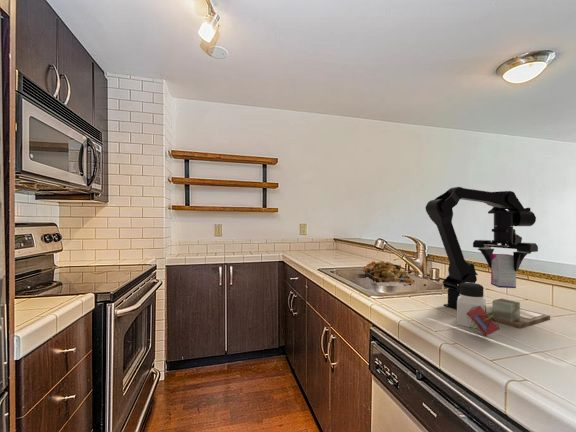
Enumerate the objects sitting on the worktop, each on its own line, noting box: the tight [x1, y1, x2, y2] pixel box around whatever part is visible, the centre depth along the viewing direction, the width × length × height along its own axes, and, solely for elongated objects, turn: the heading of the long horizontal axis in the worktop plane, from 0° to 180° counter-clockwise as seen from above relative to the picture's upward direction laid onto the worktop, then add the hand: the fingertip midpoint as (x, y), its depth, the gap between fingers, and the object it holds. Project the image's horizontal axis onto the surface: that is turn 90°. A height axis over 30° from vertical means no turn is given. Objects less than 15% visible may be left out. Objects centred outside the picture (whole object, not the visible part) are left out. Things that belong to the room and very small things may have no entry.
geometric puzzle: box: [466, 306, 501, 337], centre depth 80 cm, size 7×7×8 cm
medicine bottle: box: [456, 282, 487, 330], centre depth 89 cm, size 7×7×12 cm
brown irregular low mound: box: [362, 260, 427, 287], centre depth 154 cm, size 35×26×11 cm
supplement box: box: [490, 253, 517, 289], centre depth 108 cm, size 6×6×12 cm
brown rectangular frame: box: [486, 298, 551, 329], centre depth 94 cm, size 18×10×6 cm, turn 117°
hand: (503, 269), depth 108 cm, fingers closed on supplement box, 8 cm apart
